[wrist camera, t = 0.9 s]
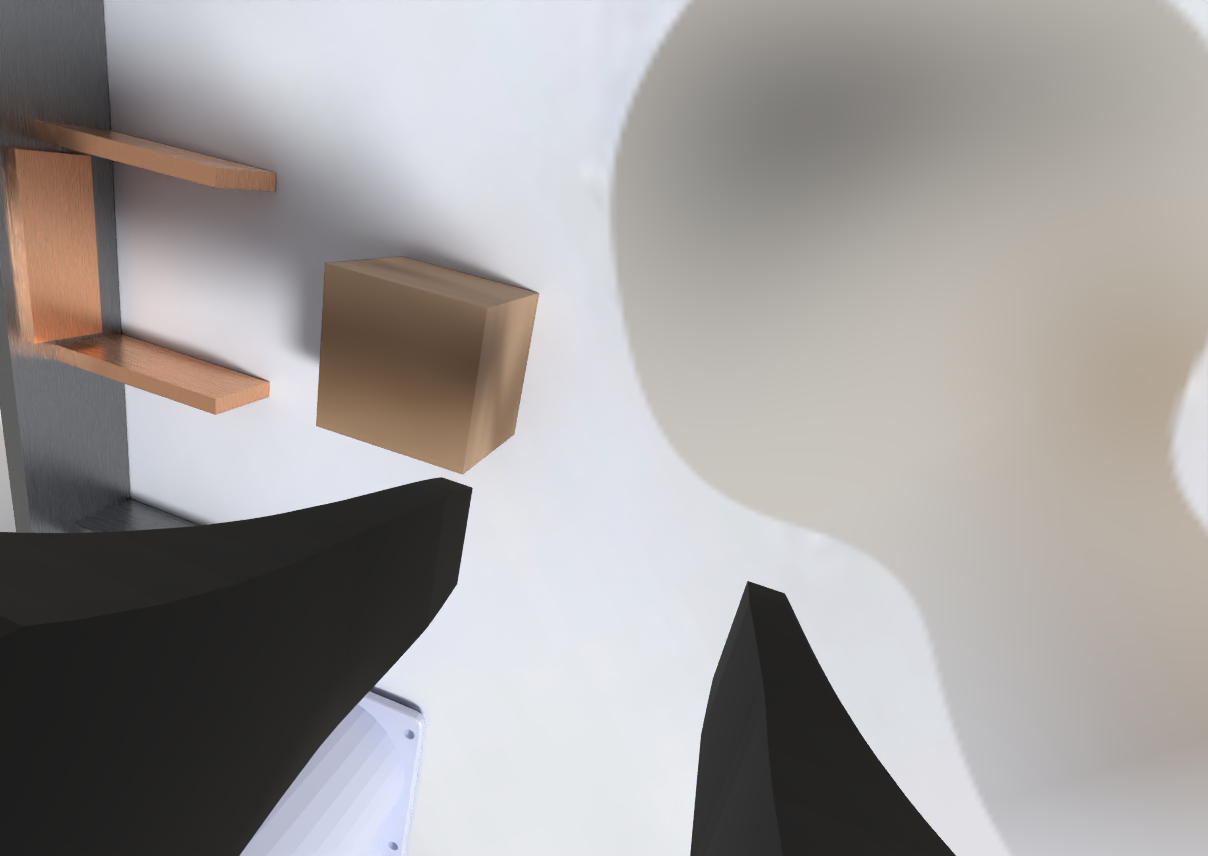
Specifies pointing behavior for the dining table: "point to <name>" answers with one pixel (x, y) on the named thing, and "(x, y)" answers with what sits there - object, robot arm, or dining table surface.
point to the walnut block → (422, 358)
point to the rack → (80, 279)
